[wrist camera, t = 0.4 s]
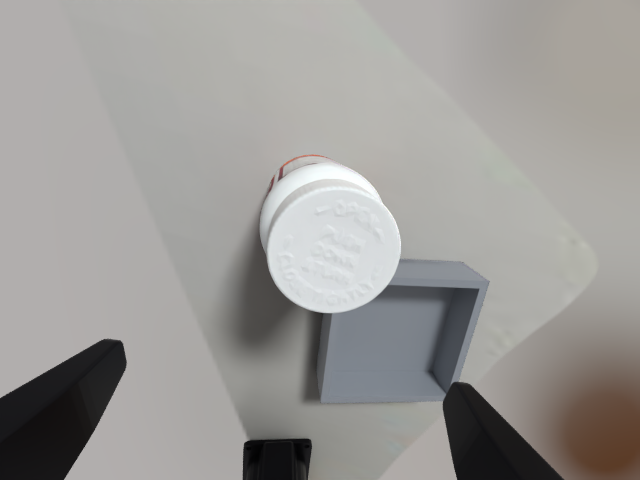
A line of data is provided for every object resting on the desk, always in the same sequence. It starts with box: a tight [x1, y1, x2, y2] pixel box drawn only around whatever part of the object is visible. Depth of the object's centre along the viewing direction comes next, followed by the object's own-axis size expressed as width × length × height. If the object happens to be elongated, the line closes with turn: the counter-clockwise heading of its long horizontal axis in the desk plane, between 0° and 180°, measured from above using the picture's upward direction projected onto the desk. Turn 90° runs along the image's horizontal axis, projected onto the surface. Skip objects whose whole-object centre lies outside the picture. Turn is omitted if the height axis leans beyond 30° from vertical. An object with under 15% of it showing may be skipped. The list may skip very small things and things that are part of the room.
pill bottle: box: [259, 155, 401, 313], centre depth 16 cm, size 6×6×11 cm
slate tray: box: [316, 259, 490, 403], centre depth 24 cm, size 11×11×4 cm
